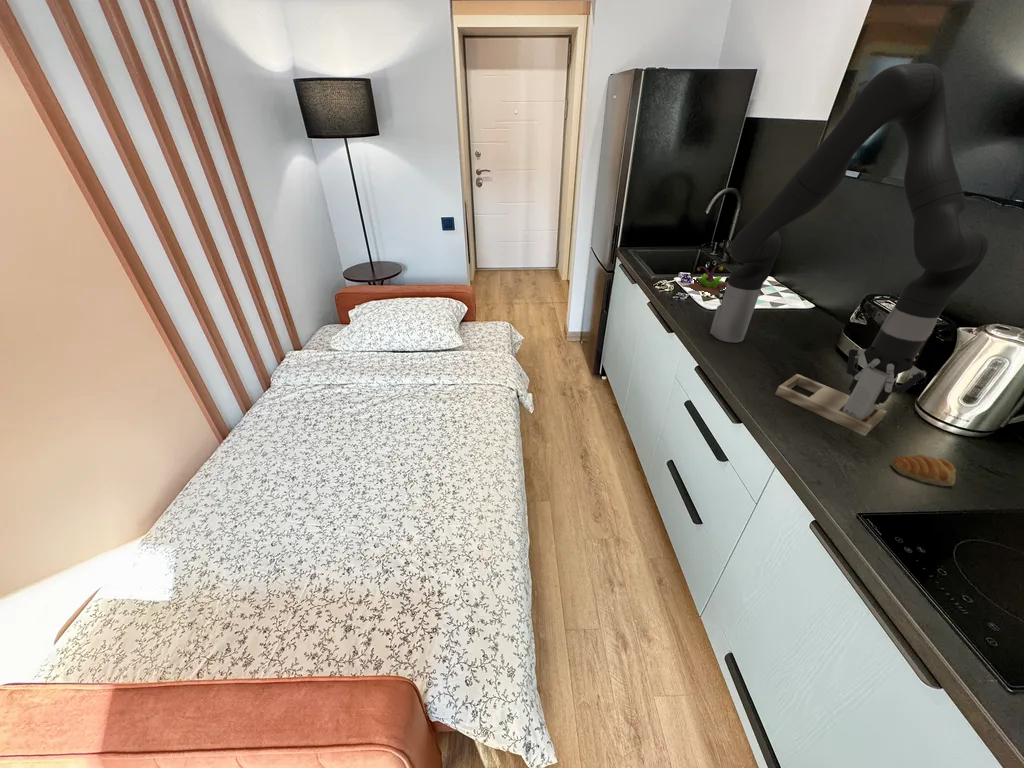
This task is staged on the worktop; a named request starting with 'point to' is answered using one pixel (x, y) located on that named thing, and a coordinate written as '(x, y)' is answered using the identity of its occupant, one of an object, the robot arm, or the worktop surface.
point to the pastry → (926, 469)
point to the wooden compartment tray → (827, 403)
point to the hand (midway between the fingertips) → (865, 397)
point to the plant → (709, 282)
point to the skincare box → (865, 394)
